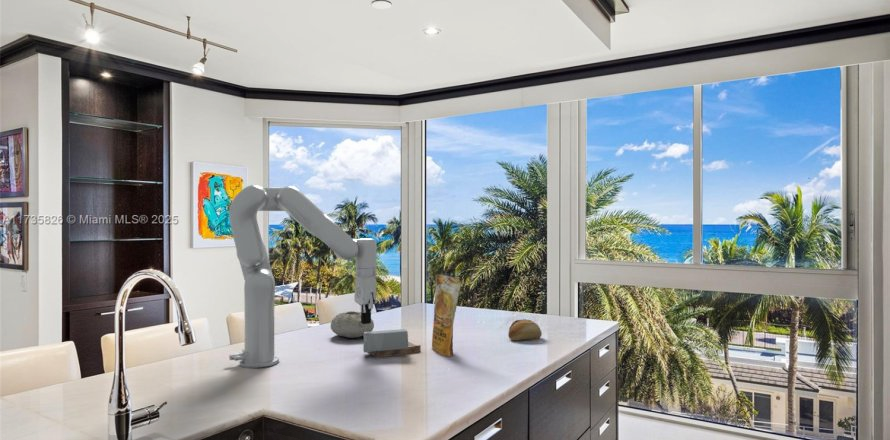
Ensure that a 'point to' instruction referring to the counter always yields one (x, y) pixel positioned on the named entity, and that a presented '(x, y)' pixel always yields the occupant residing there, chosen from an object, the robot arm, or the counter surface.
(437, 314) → the pancake mix bag
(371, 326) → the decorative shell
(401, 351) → the light brown wooden tray
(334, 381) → the counter surface
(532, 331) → the bread roll
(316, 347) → the counter surface
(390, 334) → the skincare box
